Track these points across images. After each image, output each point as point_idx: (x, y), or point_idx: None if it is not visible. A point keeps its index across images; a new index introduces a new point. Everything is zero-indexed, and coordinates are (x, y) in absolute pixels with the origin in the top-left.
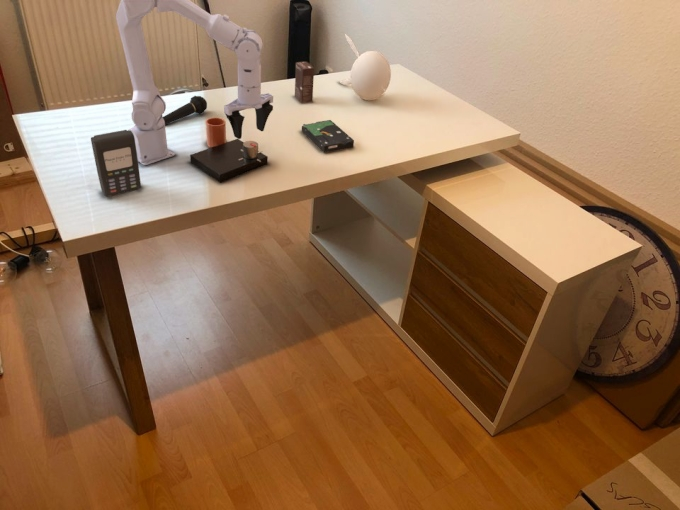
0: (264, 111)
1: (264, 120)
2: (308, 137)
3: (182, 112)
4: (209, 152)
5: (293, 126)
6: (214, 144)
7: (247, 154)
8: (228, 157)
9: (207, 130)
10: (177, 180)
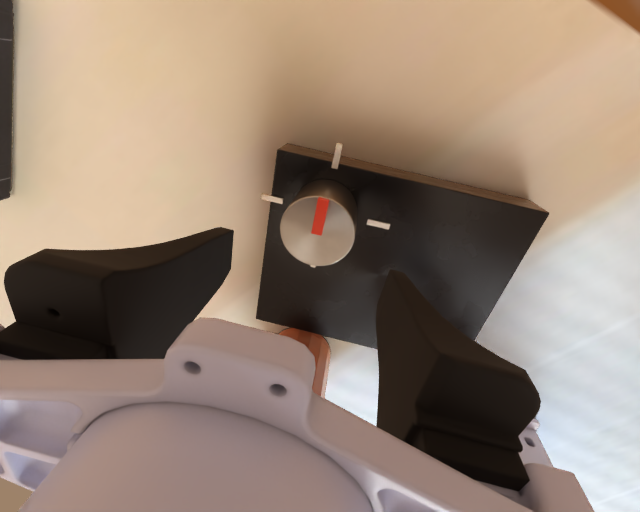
0: (140, 291)
1: (187, 249)
2: (9, 143)
3: None
4: None
5: (20, 241)
6: (325, 351)
7: (356, 211)
8: (393, 268)
9: None
10: (578, 319)
